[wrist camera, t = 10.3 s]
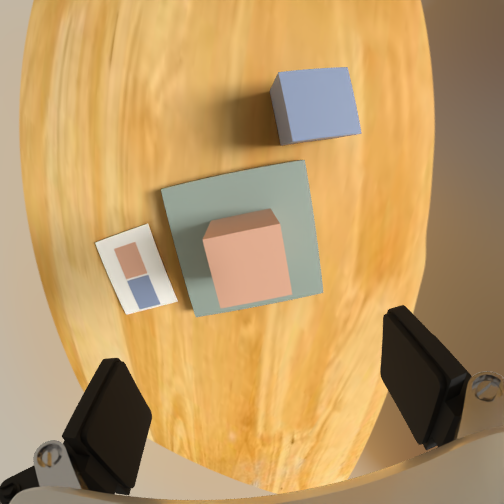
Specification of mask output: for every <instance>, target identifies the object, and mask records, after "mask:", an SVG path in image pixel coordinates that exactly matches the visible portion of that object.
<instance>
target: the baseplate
mask: <svg viewBox="0 0 504 504" xmlns="http://www.w3.org/2000/svg"><path fill="white" fill-rule="evenodd" d="M161 192H162V197H163V201H164V205H165V209H166V213H167V217H168V221H169V225H170V229H171V233H172V237H173V240H174V244H175V248H176V252H177V255H178V259H179V263H180V266H181V270H182V273H183V277H184V280H185V284H186V287H187V290H188V294H189V297H190V300H191V304H192V307H193V310H194V313H195V316H196V317H200V316H206V315H212V314H218V313H224V312H230V311H235V310H241V309H246V308H251V307H257V306H262V305H267V304H272V303H277V302H282V301H287V300H292V299H297V298H302V297H306V296H311V295H315V294H320V293H323V285H322V276H321V267H320V259H319V251H318V243H317V236H316V229H315V222H314V215H313V208H312V201H311V195H310V189H309V183H308V177H307V171H306V165H305V160H297V161H291V162H285V163H279V164H273V165H268V166H262V167H257V168H251V169H246V170H241V171H236V172H231V173H227V174H222V175H217V176H213V177H208V178H203V179H199V180H195V181H190V182H186V183H182V184H178V185H174V186H170V187H166V188H163V189H161ZM270 208H271V210H272V211H273V213H274V215H275V216H276V218H277V219H278V221H279V223H280V226H281V231H282V237H283V242H284V248H285V254H286V260H287V265H288V271H289V277H290V283H291V290H292V295H287V296H283V297H278V298H273V299H268V300H263V301H258V302H253V303H248V304H242V305H237V306H232V307H227V308H220V304H219V301H218V297H217V293H216V290H215V286H214V282H213V279H212V275H211V271H210V267H209V263H208V260H207V256H206V252H205V248H204V244H203V237H204V235H205V233H206V231H207V228H208V226H209V224H210V222H211V221H212V220H216V219H221V218H226V217H230V216H235V215H240V214H245V213H250V212H255V211H260V210H265V209H270Z"/></svg>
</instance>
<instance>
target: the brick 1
mask: <svg viewBox="0 0 504 504" xmlns="http://www.w3.org/2000/svg"><path fill="white" fill-rule="evenodd" d="M203 244H204V248H205V252H206V256H207V260H208V263H209V267H210V271H211V275H212V279H213V282H214V286H215V290H216V293H217V297H218V301H219V304H220V308H227V307H232V306H237V305H242V304H248V303H253V302H258V301H263V300H268V299H273V298H278V297H283V296H287V295H292V290H291V283H290V277H289V271H288V265H287V260H286V254H285V248H284V242H283V237H282V231H281V226H280V223H279V221H278V219H277V218H276V216H275V215H274V213H273V211H272V210H271V208H270V209H265V210H260V211H255V212H250V213H245V214H240V215H235V216H230V217H226V218H221V219H216V220H212V221H211V222H210V224H209V226H208V228H207V231H206V233H205V235H204V237H203Z"/></svg>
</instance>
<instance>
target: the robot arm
mask: <svg viewBox="0 0 504 504" xmlns="http://www.w3.org/2000/svg"><path fill="white" fill-rule="evenodd" d="M381 377H382V380H383V382H384V384H385V385H386V387H387V389H388V391H389V392H390V394H391V396H392V398H393V399H394V401H395V403H396V405H397V407H398V408H399V410H400V412H401V414H402V416H403V417H404V419H405V421H406V423H407V425H408V426H409V428H410V430H411V432H412V434H413V436H414V438H415V440H416V441H417V443H418V444H423V445H424V447H425V449H426V450H428V449H430V448H433V447H435V446H438V448H436V449H433V450H431V451H429V452H426V453H424V454H421V455H419V456H417V457H414V458H412V459H409V460H406V461H404V462H401V463H398V464H396V465H393V466H390V467H387V468H384V469H381V470H379V471H376V472H372V473H369V474H366V475H363V476H359V477H356V478H353V479H349V480H345V481H341V482H338V483H334V484H329V485H325V486H321V487H316V488H311V489H306V490H301V491H295V492H290V493H283V494H277V495H270V496H261V497H252V498H241V499H226V500H166V499H150V498H139V497H131V496H122V495H115V493H117V494H124V495H129V494H130V490H131V488H133V487H134V486H135V482H136V478H137V474H138V470H139V466H140V461H141V458H142V454H143V450H144V446H145V442H146V439H147V435H148V431H149V427H150V424H151V420H152V414H151V411H150V409H149V407H148V405H147V404H146V402H145V400H144V398H143V396H142V395H141V393H140V391H139V389H138V387H137V386H136V384H135V382H134V380H133V378H132V376H131V374H130V372H129V370H128V368H127V366H126V364H125V363H124V362H122V361H121V360H120V359H119V358H109V359H103V360H102V362H101V364H100V365H99V367H98V369H97V371H96V372H95V374H94V376H93V378H92V380H91V381H90V383H89V385H88V387H87V389H86V390H85V392H84V394H83V396H82V398H81V400H80V402H79V403H78V406H77V407H76V409H75V411H74V413H73V415H72V417H71V419H70V421H69V423H68V425H67V427H66V429H65V431H64V433H63V435H62V437H63V439H64V440H65V441H64V443H63V444H62V443H61V442H59V441H55V440H52V441H48V442H45V443H43V444H42V445H41V446H40V447H39V448H38V449H37V450H36V452H35V454H34V466H32V467H30V468H28V469H26V470H24V471H22V472H20V473H18V474H16V475H14V476H12V477H10V478H8V479H6V480H5V481H4V482H3V483H2V484H1V486H0V504H504V378H503V377H502V376H501V375H499V374H497V373H495V372H490V371H487V372H480V373H477V374H475V375H474V376H471V375H470V374H469V373H468V372H467V370H466V369H465V368H464V367H463V366H462V365H461V364H460V363H459V361H457V359H456V358H455V357H454V356H453V355H452V354H451V353H450V351H449V350H448V349H447V348H446V347H445V346H444V345H443V344H442V343H441V342H440V341H439V340H438V339H437V338H436V336H434V335H433V334H432V333H431V332H430V331H429V330H428V329H427V328H426V327H425V326H424V325H423V324H422V323H421V322H420V321H419V320H418V319H417V318H416V317H415V316H414V315H413V314H412V313H411V312H410V311H409V310H408V309H407V308H406V307H405V306H404V305H401V306H398V307H395V308H391V309H389V310H388V312H387V314H385V315H384V317H383V340H382V357H381Z"/></svg>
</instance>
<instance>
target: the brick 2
mask: <svg viewBox="0 0 504 504" xmlns="http://www.w3.org/2000/svg"><path fill="white" fill-rule="evenodd" d="M270 95H271V100H272V105H273V110H274V114H275V119H276V124H277V129H278V134H279V140H280V145H281V146H282V145H288V144H295V143H302V142H309V141H316V140H324V139H332V138H339V137H345V136H350V135H356V134H361V128H360V123H359V118H358V112H357V107H356V103H355V98H354V93H353V89H352V84H351V80H350V76H349V72H348V68H347V67H341V68H321V69H307V70H296V71H286V72H278V74H277V76H276V78H275V81H274V83H273V85H272V87H271V89H270Z"/></svg>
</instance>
